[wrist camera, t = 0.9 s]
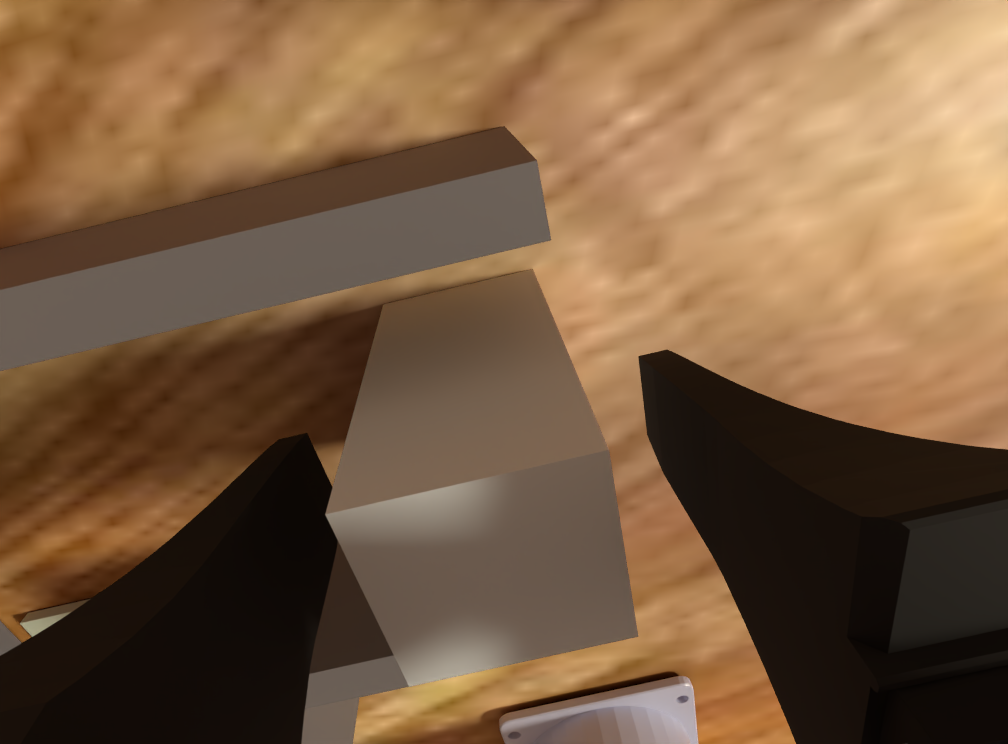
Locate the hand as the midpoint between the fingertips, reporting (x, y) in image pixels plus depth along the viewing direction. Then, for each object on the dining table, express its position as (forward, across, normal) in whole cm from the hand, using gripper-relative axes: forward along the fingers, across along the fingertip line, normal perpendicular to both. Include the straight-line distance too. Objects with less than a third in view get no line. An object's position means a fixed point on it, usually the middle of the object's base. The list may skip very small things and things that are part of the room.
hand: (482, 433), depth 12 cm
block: (+4, 0, 0) cm, 4 cm away
